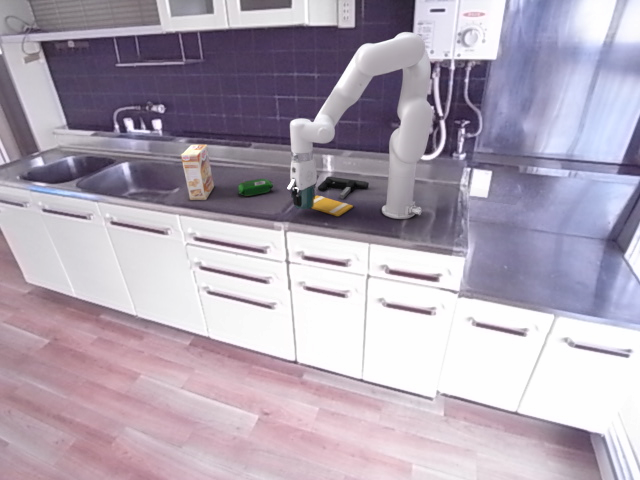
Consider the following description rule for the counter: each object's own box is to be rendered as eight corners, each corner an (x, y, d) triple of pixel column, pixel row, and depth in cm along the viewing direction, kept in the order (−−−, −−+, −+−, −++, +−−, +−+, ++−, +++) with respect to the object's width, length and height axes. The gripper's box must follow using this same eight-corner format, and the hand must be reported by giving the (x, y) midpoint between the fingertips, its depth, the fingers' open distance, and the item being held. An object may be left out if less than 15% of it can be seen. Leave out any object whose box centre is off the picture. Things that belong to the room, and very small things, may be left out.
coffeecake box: (206, 200, 157) (197, 154, 147) (189, 200, 157) (179, 154, 147) (214, 186, 170) (207, 143, 160) (199, 187, 170) (190, 144, 160)
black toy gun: (357, 195, 151) (369, 179, 163) (312, 188, 159) (328, 174, 171) (357, 202, 153) (369, 186, 165) (313, 195, 160) (328, 180, 173)
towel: (352, 207, 147) (352, 205, 147) (338, 216, 141) (338, 214, 140) (317, 196, 157) (316, 194, 157) (301, 205, 150) (301, 203, 150)
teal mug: (317, 204, 142) (317, 184, 138) (305, 210, 137) (304, 190, 133) (297, 198, 147) (296, 178, 143) (285, 204, 142) (284, 184, 138)
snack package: (276, 192, 162) (275, 181, 160) (240, 198, 157) (238, 187, 155) (271, 187, 168) (270, 176, 165) (236, 192, 163) (235, 181, 160)
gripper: (293, 164, 124) (296, 212, 133) (325, 151, 136) (326, 196, 144) (277, 160, 128) (281, 207, 137) (309, 148, 140) (311, 192, 148)
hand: (304, 201), depth 141 cm, fingers closed on teal mug, 7 cm apart
